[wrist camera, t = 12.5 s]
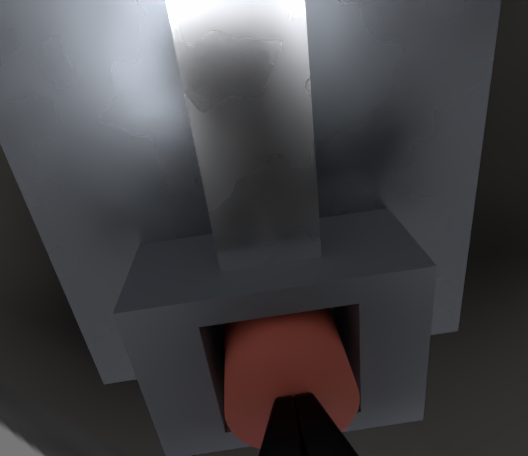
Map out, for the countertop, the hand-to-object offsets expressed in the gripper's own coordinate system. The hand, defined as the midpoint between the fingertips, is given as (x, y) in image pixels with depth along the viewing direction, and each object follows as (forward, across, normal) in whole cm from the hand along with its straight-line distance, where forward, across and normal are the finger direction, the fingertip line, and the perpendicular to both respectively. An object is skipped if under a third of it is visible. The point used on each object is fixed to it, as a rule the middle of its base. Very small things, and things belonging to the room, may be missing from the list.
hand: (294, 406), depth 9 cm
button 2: (+3, 0, 0) cm, 3 cm away
